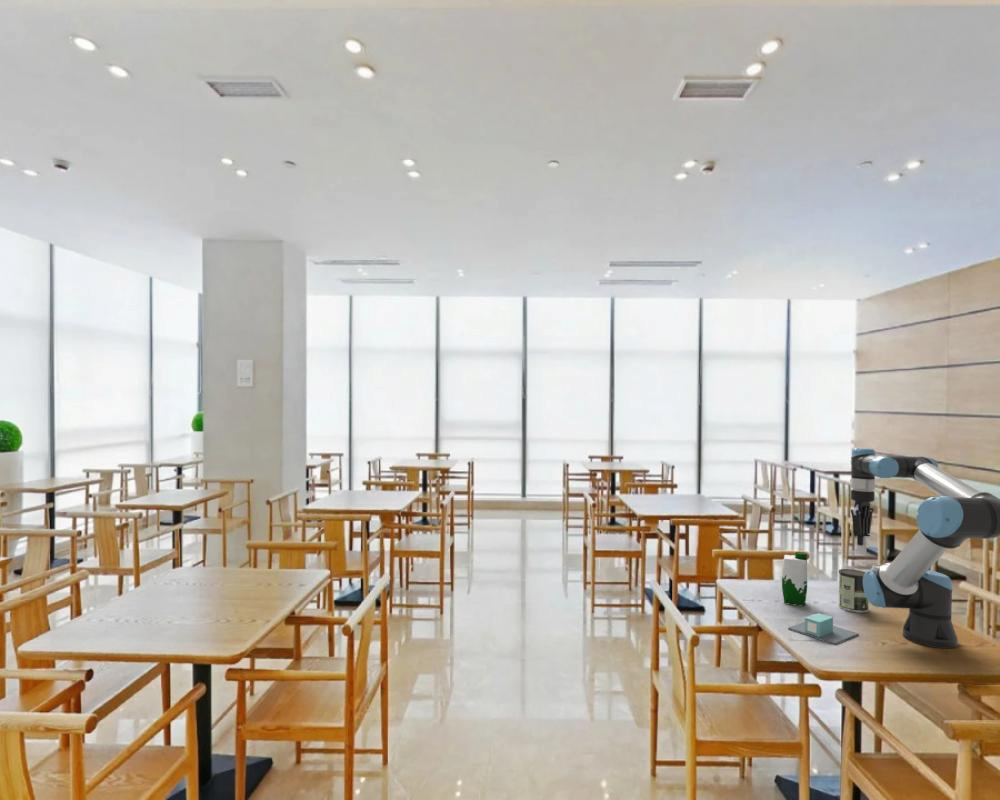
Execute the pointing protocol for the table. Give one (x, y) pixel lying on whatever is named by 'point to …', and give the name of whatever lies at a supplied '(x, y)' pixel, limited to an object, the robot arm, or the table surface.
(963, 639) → the table surface
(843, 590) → the coffee can
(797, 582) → the milk carton
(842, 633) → the mat
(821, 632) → the block
